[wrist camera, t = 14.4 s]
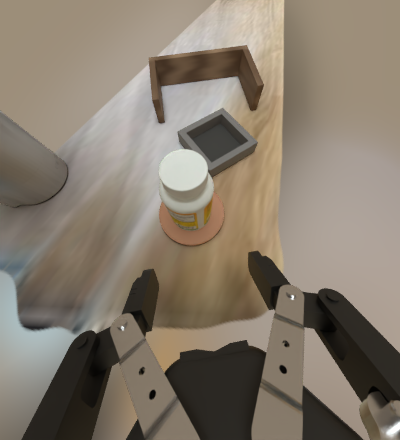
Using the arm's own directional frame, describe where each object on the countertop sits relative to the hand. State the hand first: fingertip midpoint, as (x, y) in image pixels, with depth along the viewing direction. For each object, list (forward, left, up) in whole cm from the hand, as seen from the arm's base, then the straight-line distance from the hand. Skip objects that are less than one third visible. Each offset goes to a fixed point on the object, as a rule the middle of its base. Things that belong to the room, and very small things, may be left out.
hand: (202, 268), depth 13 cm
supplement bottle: (+3, +7, -7) cm, 10 cm away
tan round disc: (+3, +7, -7) cm, 11 cm away
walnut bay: (+18, +26, -7) cm, 33 cm away
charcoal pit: (+13, +15, -7) cm, 21 cm away
